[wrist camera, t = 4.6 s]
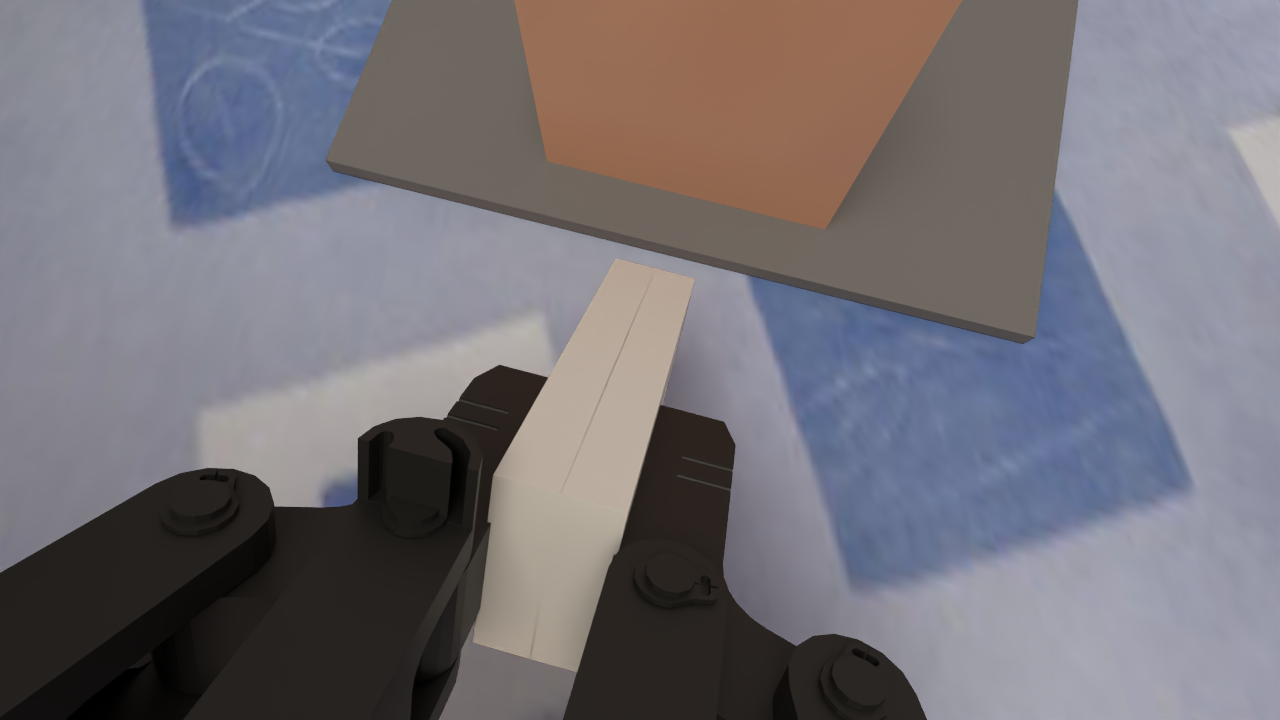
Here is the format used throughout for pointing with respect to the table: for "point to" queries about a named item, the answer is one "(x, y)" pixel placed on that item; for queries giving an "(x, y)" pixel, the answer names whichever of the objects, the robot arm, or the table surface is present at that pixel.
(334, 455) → the table surface
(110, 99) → the table surface
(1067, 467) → the table surface
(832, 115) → the tile
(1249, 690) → the table surface
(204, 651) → the robot arm
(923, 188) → the mat
